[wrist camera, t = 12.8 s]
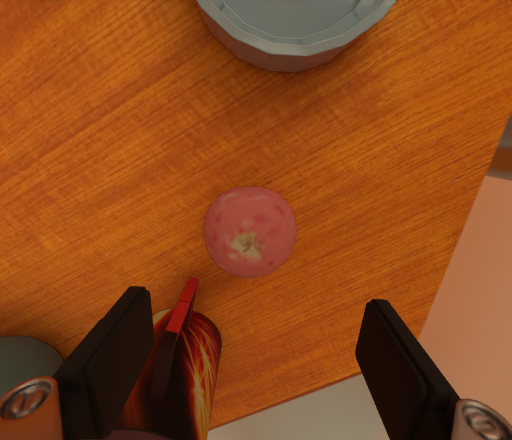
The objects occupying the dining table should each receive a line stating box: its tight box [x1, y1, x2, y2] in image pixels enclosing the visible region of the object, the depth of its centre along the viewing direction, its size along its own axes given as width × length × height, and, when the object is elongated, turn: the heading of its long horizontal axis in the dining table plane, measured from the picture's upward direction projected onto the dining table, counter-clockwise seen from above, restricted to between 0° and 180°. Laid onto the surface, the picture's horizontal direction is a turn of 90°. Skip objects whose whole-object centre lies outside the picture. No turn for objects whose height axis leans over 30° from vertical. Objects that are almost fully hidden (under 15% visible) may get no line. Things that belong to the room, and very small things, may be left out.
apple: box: [203, 186, 297, 278], centre depth 21 cm, size 7×7×8 cm
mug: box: [103, 277, 222, 440], centre depth 23 cm, size 10×14×12 cm
